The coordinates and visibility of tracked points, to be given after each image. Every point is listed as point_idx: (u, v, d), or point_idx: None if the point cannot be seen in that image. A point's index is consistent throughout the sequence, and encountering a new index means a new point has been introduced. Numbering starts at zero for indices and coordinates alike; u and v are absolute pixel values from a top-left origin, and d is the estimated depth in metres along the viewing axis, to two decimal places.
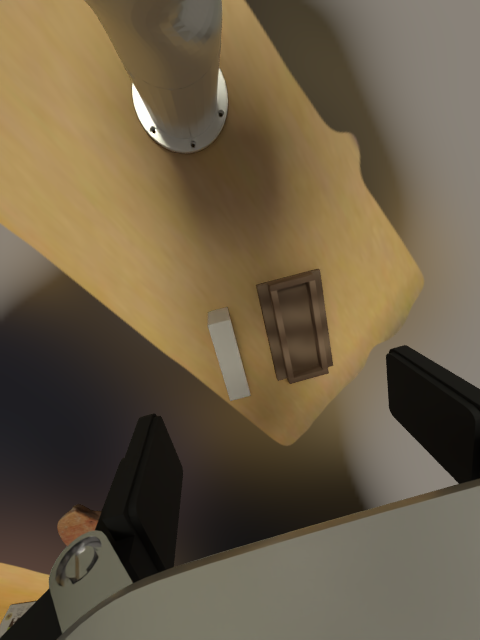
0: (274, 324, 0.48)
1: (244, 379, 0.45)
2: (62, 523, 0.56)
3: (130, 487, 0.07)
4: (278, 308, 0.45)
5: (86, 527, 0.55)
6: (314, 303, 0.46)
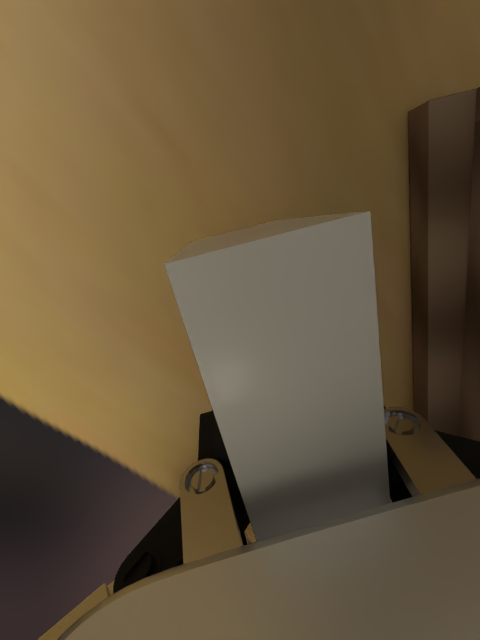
0: (461, 296, 0.12)
1: None
2: None
3: None
4: None
5: None
6: None
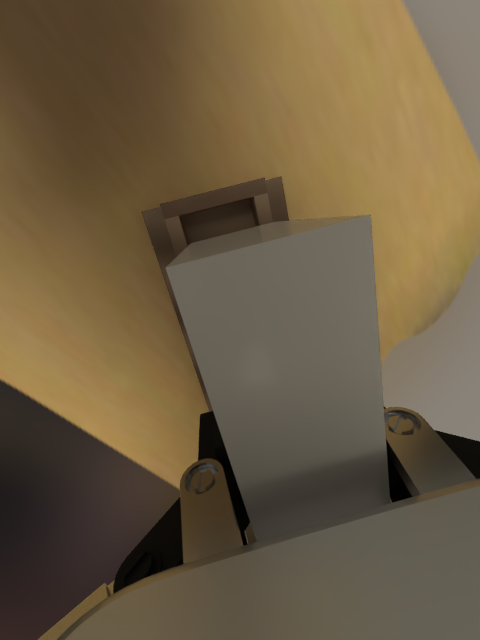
0: None
1: None
2: None
3: None
4: None
5: None
6: None
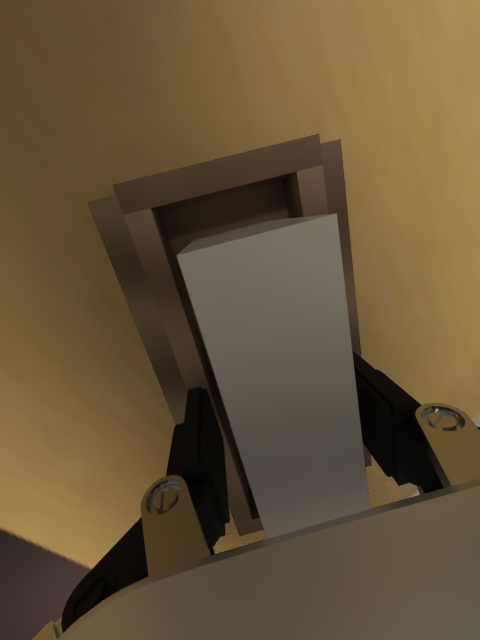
0: None
1: None
2: None
3: (197, 441, 0.08)
4: (170, 291, 0.11)
5: None
6: None
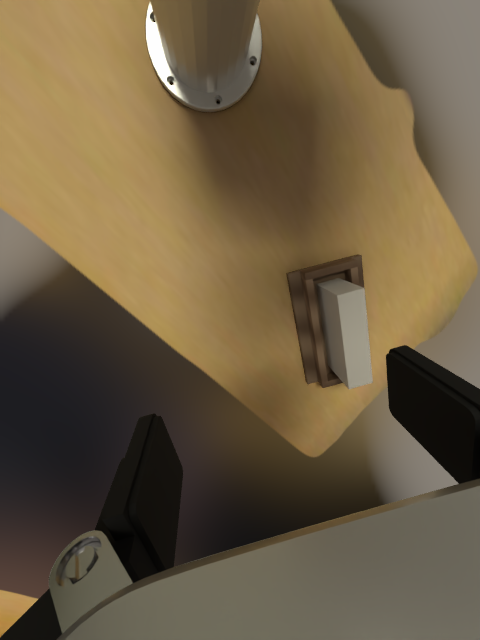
0: (306, 319, 0.42)
1: (368, 362, 0.37)
2: None
3: (130, 487, 0.07)
4: (314, 300, 0.39)
5: None
6: None
